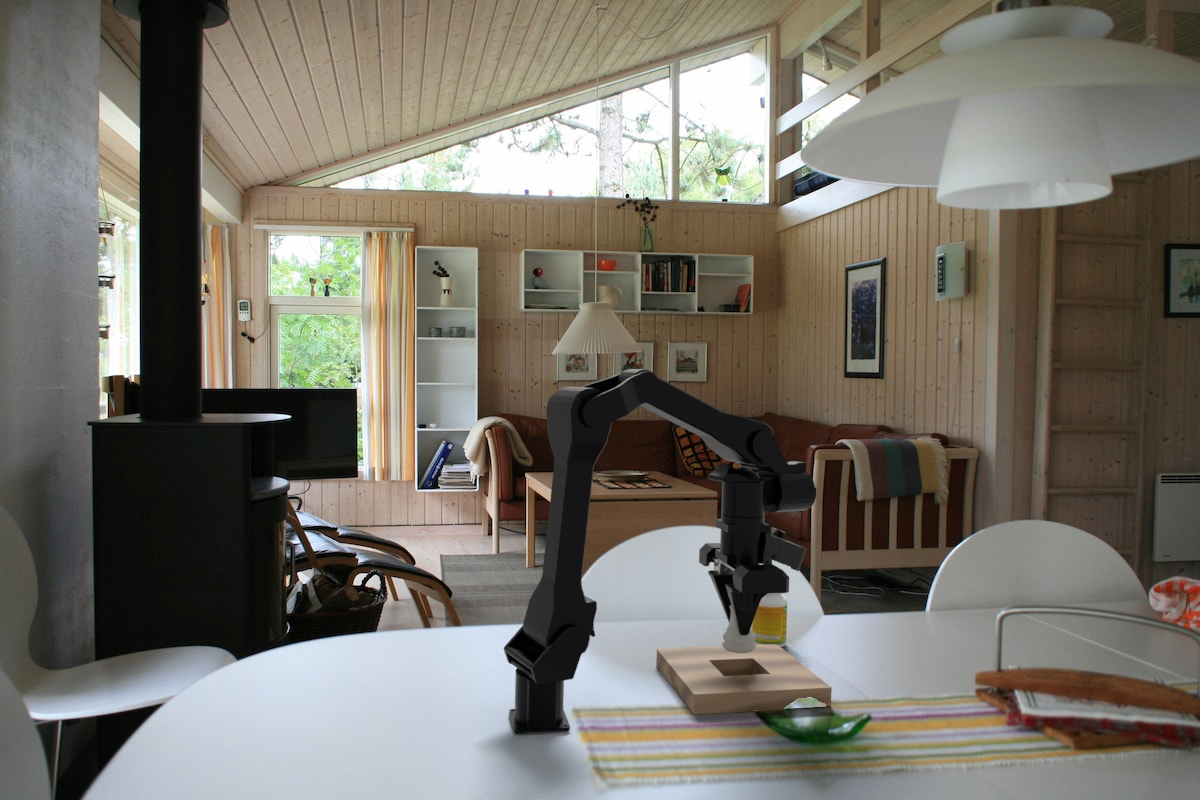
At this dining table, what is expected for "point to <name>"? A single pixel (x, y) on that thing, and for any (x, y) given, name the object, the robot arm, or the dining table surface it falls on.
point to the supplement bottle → (770, 620)
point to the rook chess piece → (737, 638)
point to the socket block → (738, 678)
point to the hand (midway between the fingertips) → (739, 630)
